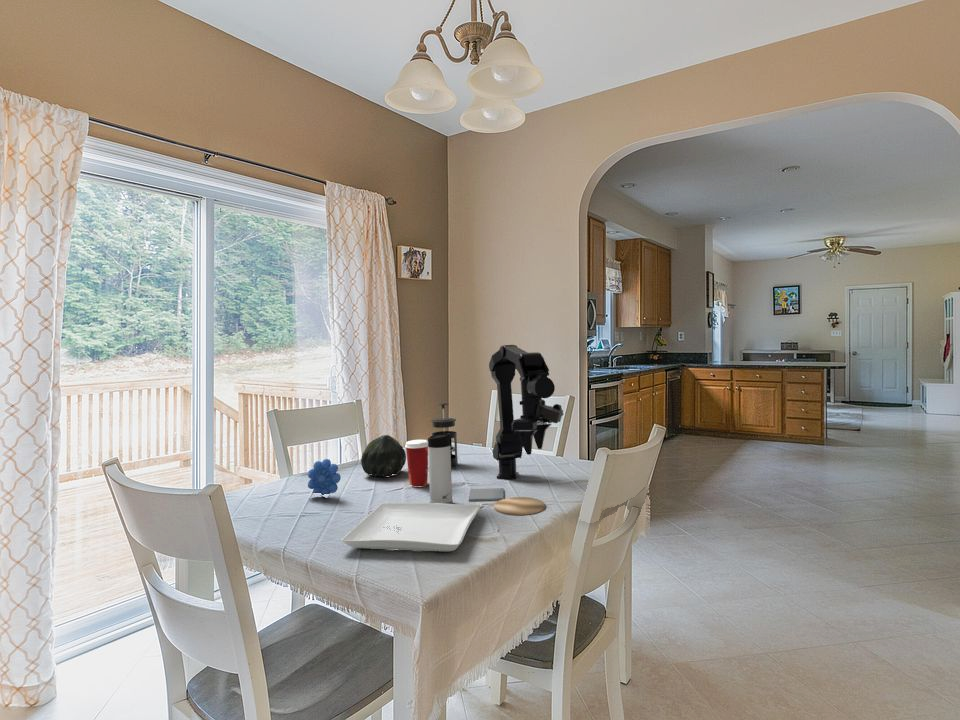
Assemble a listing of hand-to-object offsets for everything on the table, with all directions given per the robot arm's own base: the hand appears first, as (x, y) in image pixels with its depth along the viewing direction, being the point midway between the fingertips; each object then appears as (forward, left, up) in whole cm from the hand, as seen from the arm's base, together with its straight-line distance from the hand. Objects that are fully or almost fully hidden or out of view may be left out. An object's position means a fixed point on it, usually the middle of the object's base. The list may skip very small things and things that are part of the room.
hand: (534, 451), depth 151 cm
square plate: (+30, -26, -14) cm, 42 cm away
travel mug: (+8, -26, -14) cm, 30 cm away
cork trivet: (+8, -4, -13) cm, 16 cm away
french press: (-34, -37, -14) cm, 52 cm away
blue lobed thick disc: (+5, -63, -14) cm, 64 cm away
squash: (-21, -55, -14) cm, 60 cm away
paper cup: (-10, -39, -14) cm, 42 cm away
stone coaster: (-1, -15, -13) cm, 20 cm away
